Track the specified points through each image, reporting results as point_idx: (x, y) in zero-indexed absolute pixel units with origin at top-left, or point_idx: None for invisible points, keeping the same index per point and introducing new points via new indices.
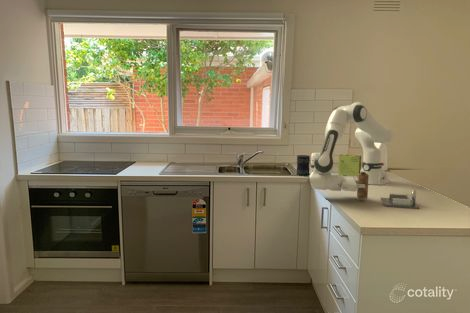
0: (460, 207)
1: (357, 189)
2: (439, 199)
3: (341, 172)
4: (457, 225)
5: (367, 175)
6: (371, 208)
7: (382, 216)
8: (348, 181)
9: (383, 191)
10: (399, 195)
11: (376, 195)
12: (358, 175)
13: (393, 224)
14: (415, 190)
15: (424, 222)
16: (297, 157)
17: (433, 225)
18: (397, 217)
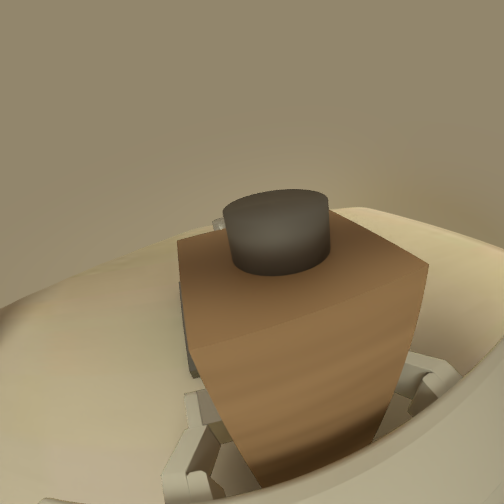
0: (201, 230)
1: (297, 476)
2: (134, 258)
3: None
4: (359, 211)
5: (329, 212)
6: (430, 349)
7: (471, 286)
8: (493, 490)
9: (40, 376)
10: None
11: (111, 404)
12: (370, 317)
13: (487, 253)
14: (223, 218)
15: (403, 232)
16: None
17: (404, 223)
18: (433, 264)
